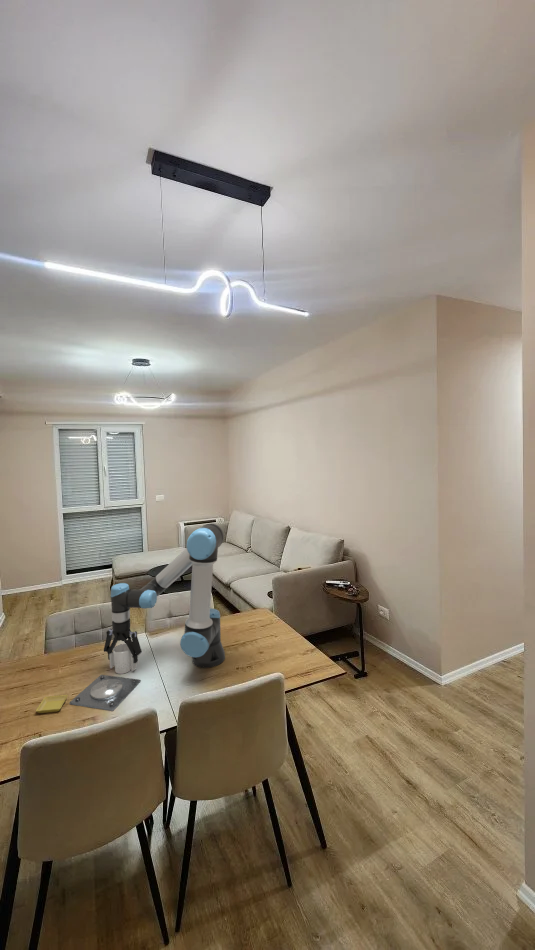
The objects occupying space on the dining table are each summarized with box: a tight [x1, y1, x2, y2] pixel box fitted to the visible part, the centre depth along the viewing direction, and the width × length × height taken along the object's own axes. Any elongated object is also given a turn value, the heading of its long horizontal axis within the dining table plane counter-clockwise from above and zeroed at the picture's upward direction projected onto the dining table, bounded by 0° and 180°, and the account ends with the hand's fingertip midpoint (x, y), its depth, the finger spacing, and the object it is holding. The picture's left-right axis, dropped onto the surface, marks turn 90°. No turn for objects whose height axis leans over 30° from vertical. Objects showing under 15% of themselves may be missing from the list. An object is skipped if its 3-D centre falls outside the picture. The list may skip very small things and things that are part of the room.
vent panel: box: [69, 674, 142, 712], centre depth 158 cm, size 19×19×2 cm
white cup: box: [113, 643, 132, 675], centre depth 174 cm, size 8×8×10 cm
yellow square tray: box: [35, 694, 68, 714], centre depth 150 cm, size 9×9×2 cm
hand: (123, 668), depth 174 cm, fingers open, 10 cm apart
